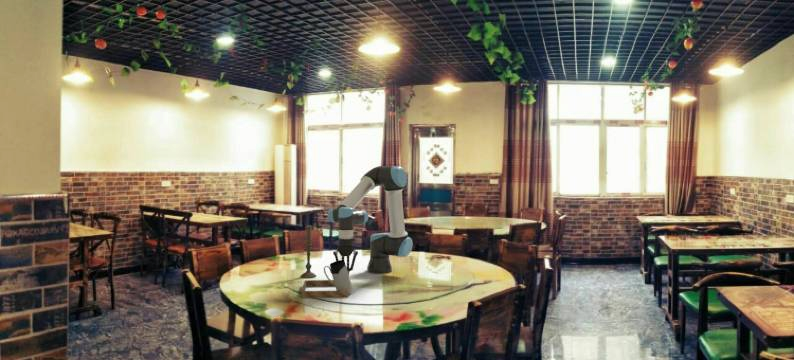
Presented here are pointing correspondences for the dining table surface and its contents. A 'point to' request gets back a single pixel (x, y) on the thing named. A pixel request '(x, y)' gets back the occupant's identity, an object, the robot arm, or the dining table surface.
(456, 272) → the dining table surface
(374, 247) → the robot arm
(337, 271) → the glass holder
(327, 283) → the corral
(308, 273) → the candlestick holder
